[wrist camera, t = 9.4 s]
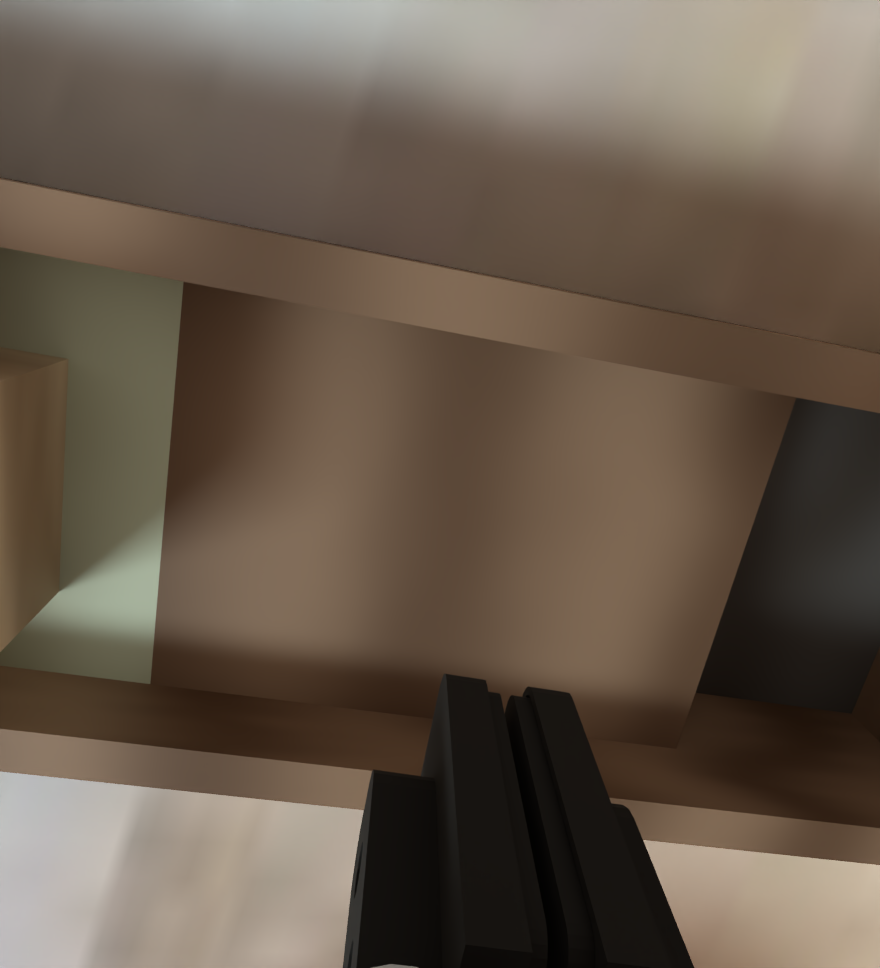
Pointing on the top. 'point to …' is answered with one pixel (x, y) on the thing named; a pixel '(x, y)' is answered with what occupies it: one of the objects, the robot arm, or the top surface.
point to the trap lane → (439, 528)
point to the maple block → (30, 484)
